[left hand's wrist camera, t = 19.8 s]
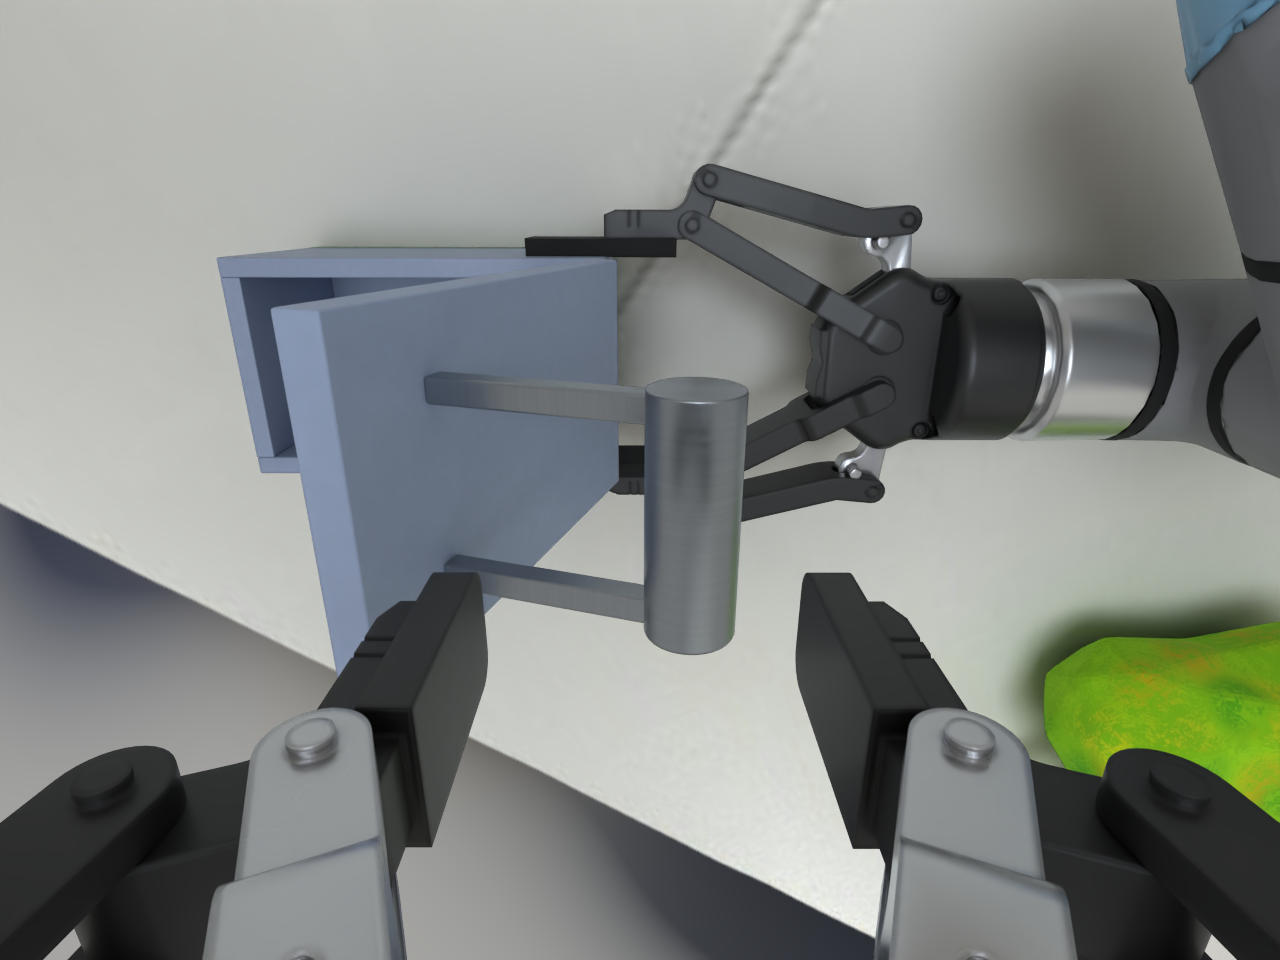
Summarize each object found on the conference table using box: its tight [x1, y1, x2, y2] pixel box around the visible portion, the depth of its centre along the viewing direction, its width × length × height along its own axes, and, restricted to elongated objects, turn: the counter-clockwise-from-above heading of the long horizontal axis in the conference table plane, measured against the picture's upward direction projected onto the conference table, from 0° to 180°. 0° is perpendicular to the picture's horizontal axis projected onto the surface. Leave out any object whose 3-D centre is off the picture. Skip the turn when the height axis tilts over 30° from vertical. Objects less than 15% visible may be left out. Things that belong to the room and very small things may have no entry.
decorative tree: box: [1044, 622, 1280, 823], centre depth 44 cm, size 18×10×30 cm
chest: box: [217, 247, 614, 473], centre depth 35 cm, size 16×10×10 cm, turn 90°
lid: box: [271, 259, 749, 677], centre depth 21 cm, size 17×10×9 cm
